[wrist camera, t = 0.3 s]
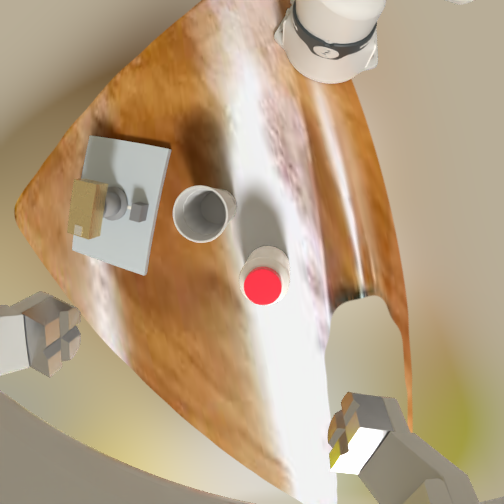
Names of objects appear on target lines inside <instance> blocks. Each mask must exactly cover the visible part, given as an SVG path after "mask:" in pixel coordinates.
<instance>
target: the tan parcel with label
mask: <svg viewBox="0 0 504 504" xmlns="http://www.w3.org/2000/svg"><path fill="white" fill-rule="evenodd" d="M107 188H108V184H107V183H103V182H99V181H95V180H90V179H74V184H73V190H72V197H71V204H70V212H69V221H68V230H67V233H70V234H73V235H76V236H79V237H82V238H85V239H88V240H89V239H92V238H95V237H98V236H100V234H101V226H102V219H103V216H104V215H105V213H106V209H107V205H106V201H105V200H106V194H107Z"/></svg>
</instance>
